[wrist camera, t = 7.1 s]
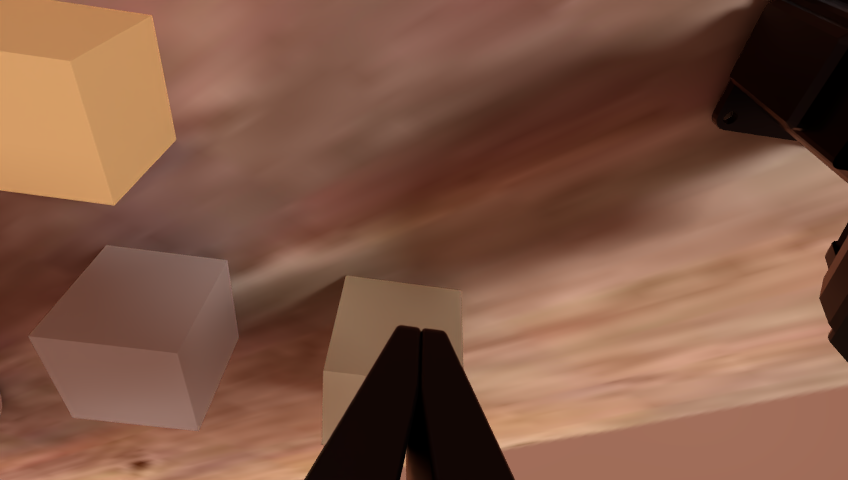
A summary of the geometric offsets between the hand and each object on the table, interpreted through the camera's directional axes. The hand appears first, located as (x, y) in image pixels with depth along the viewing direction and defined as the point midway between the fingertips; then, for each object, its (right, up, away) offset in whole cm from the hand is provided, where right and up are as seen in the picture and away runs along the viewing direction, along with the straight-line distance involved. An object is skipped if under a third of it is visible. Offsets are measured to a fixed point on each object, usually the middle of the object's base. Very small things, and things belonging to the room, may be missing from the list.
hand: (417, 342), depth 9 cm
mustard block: (-12, +8, +11) cm, 18 cm away
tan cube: (-1, -3, +19) cm, 19 cm away
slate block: (-13, -1, +18) cm, 23 cm away
